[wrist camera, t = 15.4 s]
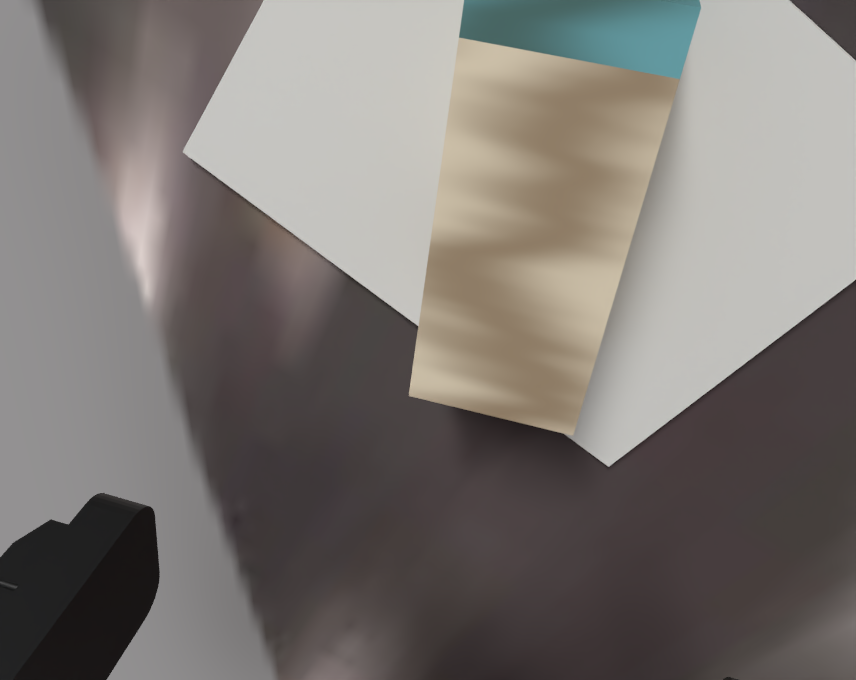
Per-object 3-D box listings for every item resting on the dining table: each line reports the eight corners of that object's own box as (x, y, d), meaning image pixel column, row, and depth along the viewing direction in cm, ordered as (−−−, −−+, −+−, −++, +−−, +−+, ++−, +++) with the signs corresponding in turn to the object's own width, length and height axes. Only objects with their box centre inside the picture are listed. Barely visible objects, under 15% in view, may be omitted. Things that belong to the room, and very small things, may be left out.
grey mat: (981, 174, 22) (986, 180, 22) (609, 459, 31) (608, 467, 31) (440, -318, 19) (436, -320, 19) (187, 147, 28) (182, 152, 27)
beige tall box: (408, 395, 24) (468, -34, 18) (443, 311, 28) (503, -64, 22) (573, 435, 24) (701, 7, 17) (584, 343, 28) (691, -32, 21)
